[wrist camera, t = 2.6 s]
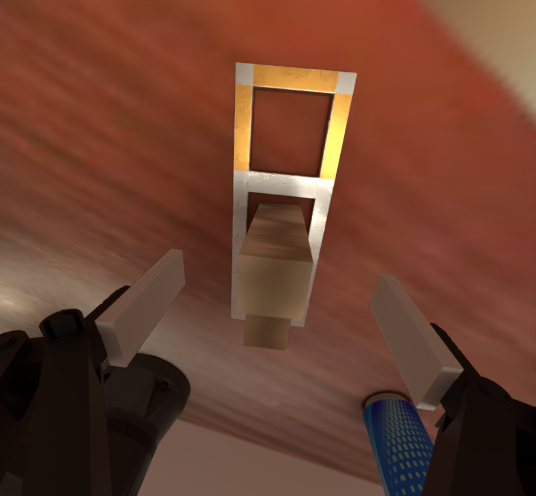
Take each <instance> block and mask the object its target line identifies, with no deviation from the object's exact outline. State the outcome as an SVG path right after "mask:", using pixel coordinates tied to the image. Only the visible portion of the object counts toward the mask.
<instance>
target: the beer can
mask: <svg viewBox="0 0 536 496" xmlns="http://www.w3.org/2000/svg"><path fill="white" fill-rule="evenodd" d="M363 417H364V421H365V425H366V428H367V432H368V435H369V439H370V443H371V446H372V450H373V453H374V457H375V460H376V464H377V468H378V471H379V475H380V478H381V482H382V486H383V489H384V493H385V496H421V493H422V490H423V486H424V482H425V478H426V475H427V471H428V467H429V463H430V460H431V456H432V452H433V448H434V446H433V444H432V442H431V440H430V438H429V436H428V434H427V432H426V429H425V427H424V425H423V423H422V421H421V419H420V417H419V415H418V413H417V411H416V409H415V407H414V406H413V404H411V403H410V402H409V401H407V400H406V399H405V398H404V397H402V396H401V395H398V394H395V393H381V394H377V395H375V396H373V397H371V398H370V399H368V400H367V402H366V404H365V409H364V411H363Z"/></svg>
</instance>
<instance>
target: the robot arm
mask: <svg viewBox="0 0 536 496" xmlns="http://www.w3.org/2000/svg"><path fill="white" fill-rule="evenodd" d="M185 284H186V283H185V273H184V262H183V251H182V250H179V249H170V250H169V251H168V252H167V253H166V254H165V255H164V256H163V257H162V258H161V259H160V260H159V261H158V262H156V263H155V264H154V265H153V266H152V267H151V268H150V269H149V270H148V271H147V272H146V273H145V274H144V275H143V276H142V277H141V278H140V279H138V280H137V281H136V282H135V283H134V284H133V285H132V286H124V287H122V288H120V289H118V290H116V291H115V292H114V293H113V294H111V295H110V296H109V297H108V299H106V300H105V301H103V302H102V304H100V305H99V306H98V307H97V308H96V309H94V310H93V311H92V312H91V313H90V314H89V315H88V316H87V317H85V318H84V317H83V314H82V312H81V311H80V310H78V309H66V310H61V311H58V312H56V313H53V314H51V315H50V316H48V317H46V318H45V319H44V320H43V321H42V322H41V323H40V325H39V328H40V330H41V332H42V334H43V336H44V337H38V338H30V339H29V337H28V335H27V334H26V332H25V331H22V330H14V331H9V332H5V333H3V334H0V496H137V495H138V492H139V490H140V487H141V485H142V483H143V480H144V477H145V475H146V473H147V470H148V468H149V465H150V463H151V460H152V458H153V456H154V453H155V451H156V449H157V446H158V444H159V443H160V441H161V440H162V438H163V437H164V436H165V434H166V433H167V431H168V430H169V429H170V427H171V426H172V425H173V423H174V422H175V420H176V419H177V418H178V416H179V415H180V414H181V412H182V411H183V409H184V407H185V405H186V402H187V400H188V397H189V394H190V386H189V383H188V381H187V379H186V378H185V376H184V375H183V374H182V373H181V372H180V371H179V370H178V369H177V368H175V367H174V366H172V365H171V364H169V363H167V362H165V361H163V360H161V359H158V358H155V357H152V356H148V355H141V354H136V353H137V352H138V350H139V349H140V347H141V346H142V345H143V343H144V342H145V340H146V339H147V338H148V336H149V335H150V333H151V332H152V330H153V329H154V328H155V326H156V325H157V323H158V322H159V321H160V319H161V318H162V316H163V315H164V313H165V312H166V311H167V309H168V308H169V306H170V305H171V304H172V302H173V301H174V299H175V298H176V297H177V295H178V294H179V292H180V291H181V289H182V288H183V287H184V285H185ZM369 308H370V310H371V312H372V314H373V316H374V319H375V321H376V323H377V325H378V327H379V329H380V331H381V334H382V336H383V338H384V340H385V342H386V344H387V346H388V349H389V351H390V353H391V355H392V357H393V359H394V361H395V364H396V366H397V368H398V370H399V372H400V374H401V376H402V378H403V381H404V383H405V385H406V387H407V389H408V391H409V393H410V396H411V398H412V400H413V402H414V404H415V406H416V408H420V409H427V410H435V409H436V407H437V406H438V404H439V403H440V402H441V404H442V406H443V408H444V409H445V411H446V412H445V413H444V414H443V415H442V417H441V418H440V419H439V421H438V422H437V423H436V425H435V427H437V428H438V427H439V430H438V433H437V437H436V441H435V445H434V448H433V452H432V456H431V460H430V463H429V467H428V471H427V475H426V478H425V482H424V486H423V490H422V493H421V496H536V407H534V406H531V405H528V404H526V403H523V402H521V401H518V400H515V399H513V398H511V396H510V395H509V394H508V392H506V391H505V390H504V389H503V388H502V387H501V386H500V385H498V384H497V383H495V382H493V381H492V380H490V379H487V378H485V377H481V376H480V375H479V373H478V372H477V371H476V370H475V368H474V367H473V366H472V365H471V363H470V362H469V361H468V360H467V358H466V357H465V356H464V355H463V353H462V352H461V351H460V350H459V349H458V347H457V346H456V345H455V343H454V342H452V340H451V338H450V337H449V336H448V335H447V333H446V332H445V331H444V330H443V329H441V328H440V327H439V326H438V325H436V324H435V323H429V322H428V321H427V319H426V318H425V317H424V315H423V314H422V313H421V311H420V310H419V309H418V307H417V306H416V305H415V303H414V302H413V301H412V299H411V298H410V297H409V295H408V294H407V293H406V291H405V290H404V289H403V287H402V286H401V285H400V283H399V282H398V281H397V279H396V278H395V277H394V275H391V274H383V273H381V274H380V277H379V280H378V283H377V285H376V288H375V291H374V294H373V296H372V299H371V302H370V304H369ZM106 358H108V360H109V363H110V364H109V365H108V367H107V368H106V369H105V371H104V372H103V368H102V366H101V364H102V363H103V361H104V360H105V359H106Z"/></svg>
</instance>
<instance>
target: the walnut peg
mask: <svg viewBox="0 0 536 496" xmlns="http://www.w3.org/2000/svg"><path fill="white" fill-rule="evenodd" d="M291 320H292V319H286V318H278V317H269V316H261V315H253V314H245V332H244V345H245V346H253V347H261V348H269V349H278V350H286V348H287V342H288V337H289V331H290V325H291Z"/></svg>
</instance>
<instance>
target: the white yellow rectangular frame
mask: <svg viewBox="0 0 536 496" xmlns="http://www.w3.org/2000/svg"><path fill="white" fill-rule="evenodd" d="M356 75H357V73H349V72H338V71H327V70H315V69H304V68H292V67H281V66H270V65H258V64H247V63H236V84H235V135H234V187H233V238H232V289H231V319H239V320H245V314H244V313H237V283H238V254H239V252H240V250H241V247H242V245H243V242H244V240H245V237H246V235H247V233H248V216H249V197H250V192H257V193H267V194H277V195H286V196H296V197H306V198H313V204H312V210H311V215H310V221H309V227H308V232H307V235H308V240H309V244H310V249H311V253H312V258H313V262H314V264H313V269H312V274H311V279H310V284H309V289H308V294H307V299H306V304H305V309H304V313H303V318H302V320H295V319H292V320H291V325H290V326H298V327H304V323H305V318H306V314H307V309H308V304H309V299H310V295H311V290H312V285H313V280H314V276H315V271H316V266H317V261H318V257H319V252H320V247H321V242H322V237H323V233H324V228H325V223H326V218H327V214H328V209H329V204H330V199H331V195H332V190H333V185H334V180H335V176H336V171H337V166H338V161H339V156H340V152H341V147H342V142H343V137H344V133H345V128H346V123H347V118H348V114H349V109H350V104H351V99H352V95H353V90H354V85H355V80H356ZM255 90H266V91H277V92H288V93H299V94H310V95H321V96H331V102H330V108H329V113H328V119H327V125H326V130H325V136H324V142H323V147H322V153H321V159H320V164H319V170H318V176H311V175H301V174H291V173H281V172H271V171H261V170H251V158H252V138H253V119H254V99H255Z"/></svg>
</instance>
